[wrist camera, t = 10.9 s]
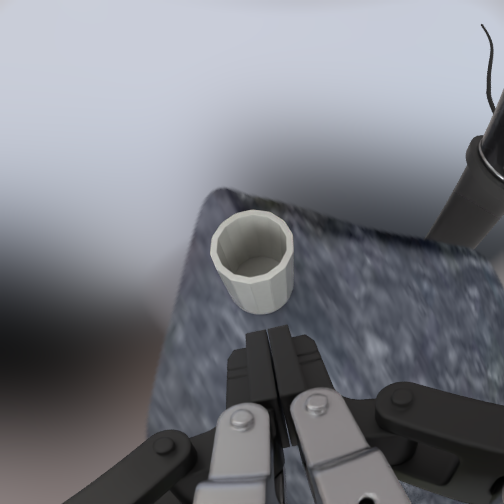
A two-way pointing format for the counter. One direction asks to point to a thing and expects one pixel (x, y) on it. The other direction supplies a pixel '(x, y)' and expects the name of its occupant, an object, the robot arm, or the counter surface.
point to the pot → (255, 260)
